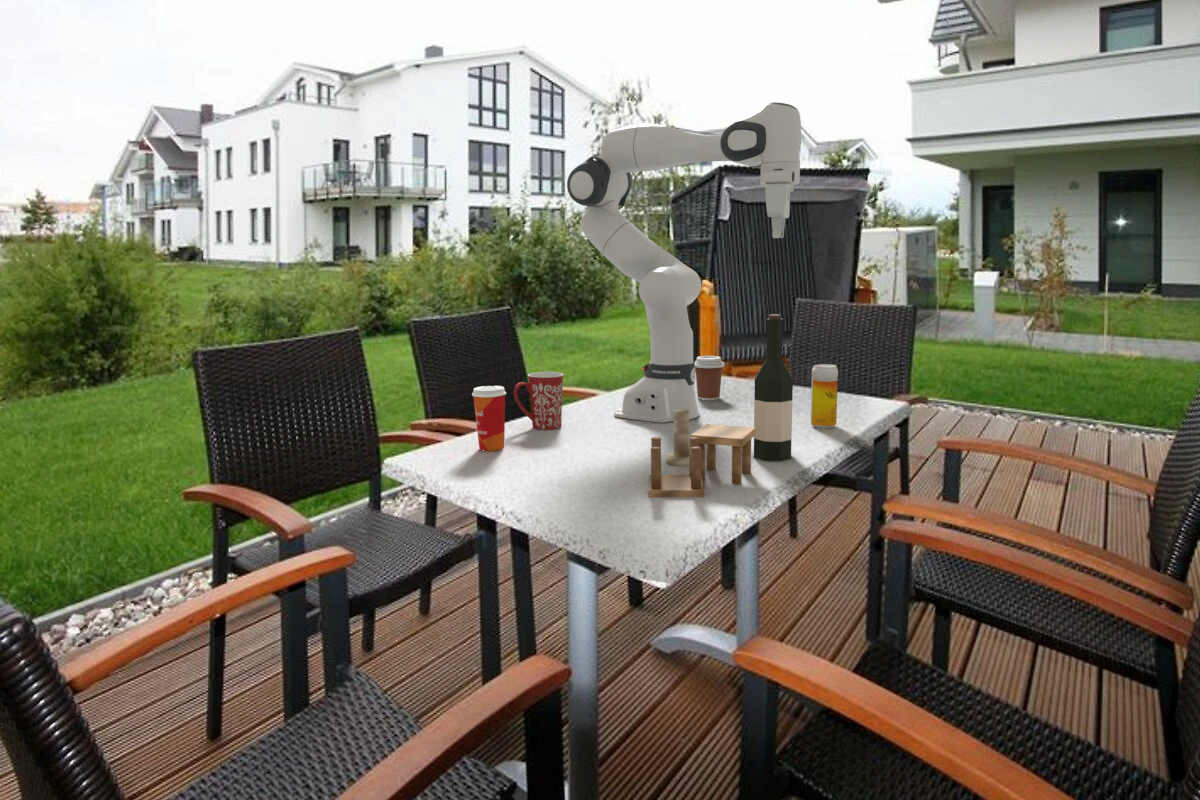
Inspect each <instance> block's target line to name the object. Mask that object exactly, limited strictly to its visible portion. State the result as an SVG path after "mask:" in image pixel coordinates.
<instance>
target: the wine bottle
mask: <svg viewBox="0 0 1200 800" xmlns="http://www.w3.org/2000/svg"><path fill="white" fill-rule="evenodd" d="M781 317H782V316H781V314H779V313H777V314H776V313H773V314H769V315H768V318H766V350H765V351H766V356H765V358H766V359H765V360H764V362H763V363H762V365H761V367H760V368H759V370H758V372H757V373H756V375H755V377H754V403H753V404H754V408H753V409H754V410H753V411H754V412H753V413H754V414H753V415H754V417H753V419H754V420H753V427H755V428H756V430H755V436H754V437H753V458H754V459H757V460H761V461H764V462H783V461H787V460H791V459H792V437H793V436H792V435H793V434H792V433H793V432H792V429H793V387H794V383H793V382H794V379H793V376H792V374H791V373H790V371H789V369H788V368H787V365H786V363H785V362H784V360H783V358H782V357H783V321H784V319H783V318H781Z"/></svg>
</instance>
